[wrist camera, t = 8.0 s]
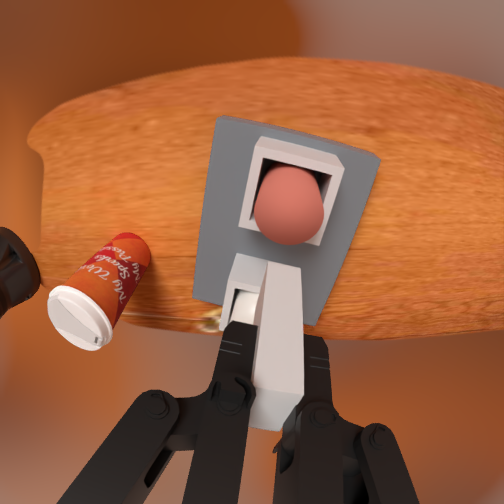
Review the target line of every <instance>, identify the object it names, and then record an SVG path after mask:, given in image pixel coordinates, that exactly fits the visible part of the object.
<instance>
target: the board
mask: <svg viewBox="0 0 504 504" xmlns="http://www.w3.org/2000/svg"><path fill="white" fill-rule="evenodd" d="M276 161H281V162H285V163H289V164H293V165H297V166H301V167H305V168H308V169H312V170H313V172H314V173H315V176H316V179H317V183H318V187H319V191H320V195H321V199H322V203H323V208H324V219H323V223H322V225H321V227H320V229H319V231H318V232H317V233H316V234H315V235H314V236H313V237H312V238H311V239H309V240H307V241H305V242H303V243H300V244H295V245H284V244H279V243H276V242H274V241H272V240H270V239H268V238H267V237H266V236H265V235H264V234H263V233H262V232H261V231H260V230H259V228H258V226H257V224H256V222H255V217H254V207H255V203H256V200H257V197H258V194H259V190H260V187H261V184H262V181H263V178H264V174H265V172H266V170H267V169H268V168H269V167H270V166H271V165H272V164H273V163H274V162H276ZM380 161H381V159H379V158H378V157H377V156H376V155H375V154H374V153H371V152H368V151H365V150H362V149H359V148H356V147H353V146H349V145H346V144H343V143H340V142H336V141H333V140H329V139H326V138H322V137H319V136H315V135H311V134H308V133H304V132H300V131H296V130H292V129H288V128H284V127H279V126H275V125H270V124H266V123H261V122H256V121H252V120H246V119H241V118H236V117H230V116H225V115H223V116H221V117H218V118H217V119H216V125H215V131H214V137H213V143H212V149H211V155H210V161H209V168H208V174H207V181H206V188H205V195H204V202H203V209H202V217H201V225H200V232H199V241H198V249H197V258H196V267H195V276H194V286H193V296H192V298H194V299H198V300H201V301H205V302H209V303H213V304H217V305H221V306H223V309H222V315H221V320H220V325H219V330H222V331H224V329H225V327H226V326H227V325H228V324H229V323H230V320H231V316H232V312H233V308H234V305H235V301H236V297H237V293H238V289H242V290H246V291H250V292H255V293H260V289H261V286H262V282H263V278H264V275H265V271H266V267H267V264H268V261H270V262H274V263H279V264H283V265H288V266H292V267H297V268H301V285H302V310H303V324H307V325H312V326H315V325H316V322H317V320H318V318H319V316H320V314H321V312H322V310H323V307H324V305H325V303H326V301H327V299H328V296H329V294H330V292H331V290H332V287H333V285H334V283H335V280H336V278H337V276H338V273H339V271H340V269H341V266H342V264H343V261H344V259H345V257H346V254H347V252H348V249H349V247H350V244H351V242H352V239H353V237H354V234H355V231H356V229H357V226H358V224H359V221H360V218H361V216H362V213H363V210H364V208H365V205H366V202H367V199H368V197H369V194H370V191H371V188H372V185H373V182H374V179H375V176H376V173H377V170H378V167H379V164H380Z"/></svg>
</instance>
